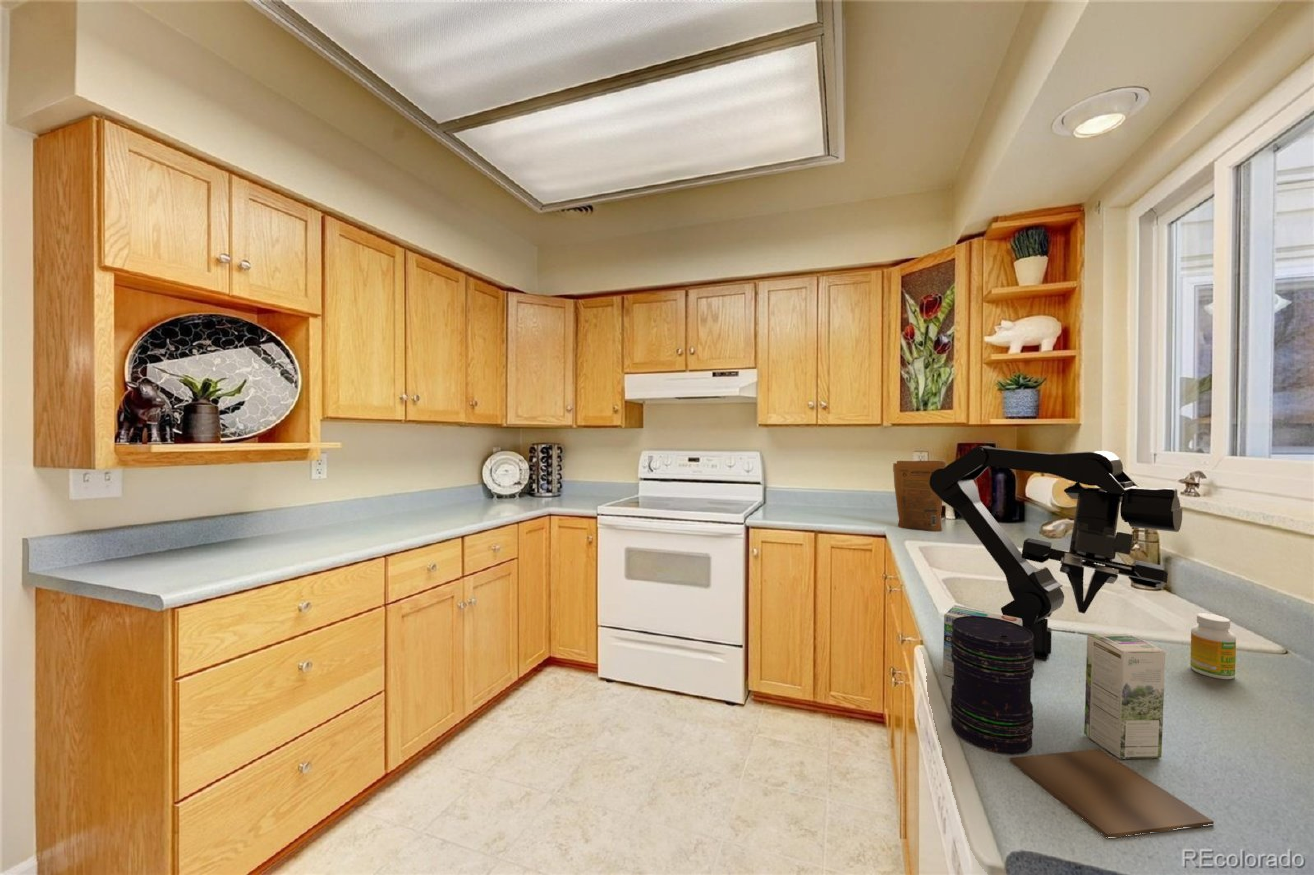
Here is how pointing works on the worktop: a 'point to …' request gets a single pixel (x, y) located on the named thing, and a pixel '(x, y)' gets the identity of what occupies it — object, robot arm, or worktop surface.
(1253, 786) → the worktop surface
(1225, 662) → the supplement bottle
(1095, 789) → the plate
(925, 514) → the pancake mix bag
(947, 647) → the light bulb box
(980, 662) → the black ridged cylinder
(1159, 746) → the syrup box
